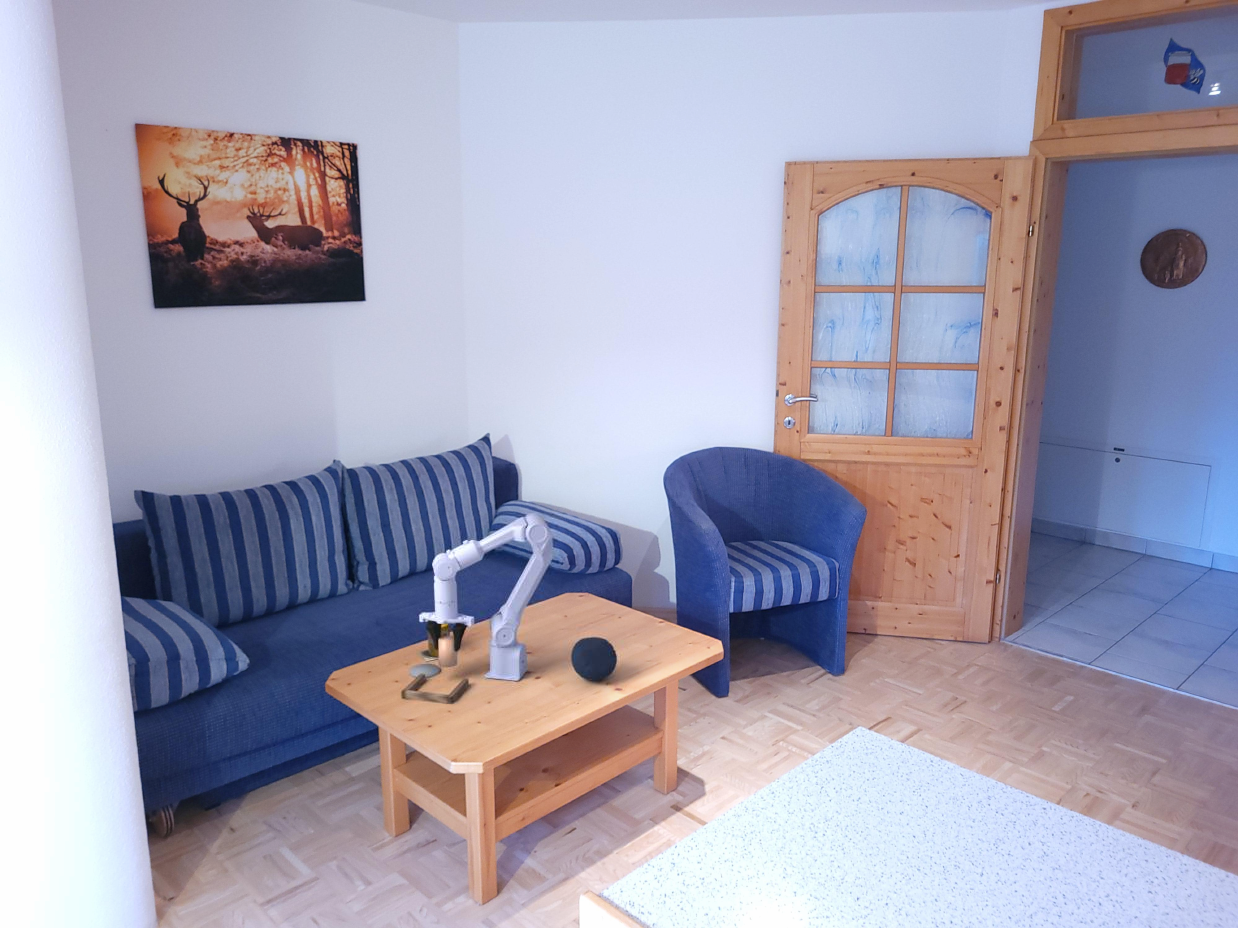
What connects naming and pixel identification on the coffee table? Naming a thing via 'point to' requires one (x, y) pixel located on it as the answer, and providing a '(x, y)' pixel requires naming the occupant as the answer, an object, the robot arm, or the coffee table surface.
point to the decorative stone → (593, 658)
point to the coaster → (424, 670)
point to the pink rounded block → (447, 651)
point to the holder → (432, 697)
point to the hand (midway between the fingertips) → (447, 649)
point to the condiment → (431, 647)
